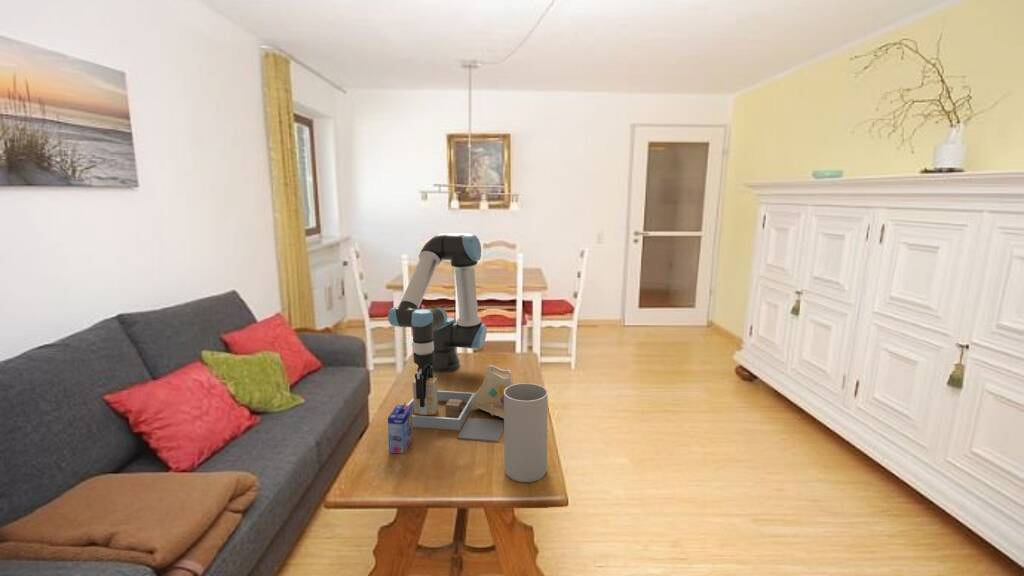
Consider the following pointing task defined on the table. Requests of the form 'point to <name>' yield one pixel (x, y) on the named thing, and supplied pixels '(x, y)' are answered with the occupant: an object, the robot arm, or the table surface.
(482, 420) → the mat
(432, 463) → the table surface
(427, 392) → the supplement box
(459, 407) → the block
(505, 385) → the shape sorter
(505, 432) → the cylinder vase
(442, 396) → the bin
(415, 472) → the table surface
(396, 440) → the ink cartridge box
